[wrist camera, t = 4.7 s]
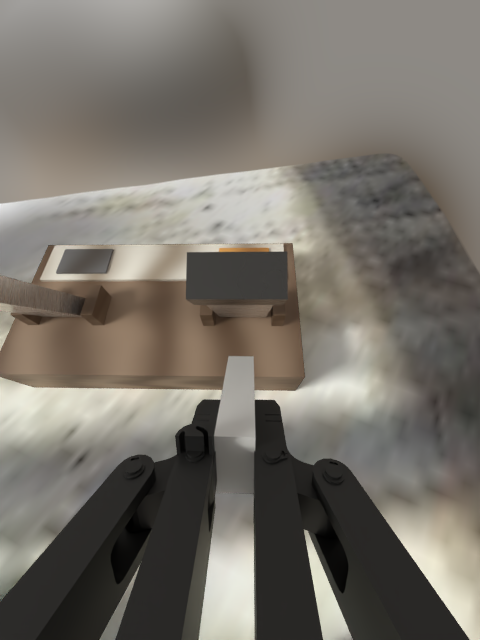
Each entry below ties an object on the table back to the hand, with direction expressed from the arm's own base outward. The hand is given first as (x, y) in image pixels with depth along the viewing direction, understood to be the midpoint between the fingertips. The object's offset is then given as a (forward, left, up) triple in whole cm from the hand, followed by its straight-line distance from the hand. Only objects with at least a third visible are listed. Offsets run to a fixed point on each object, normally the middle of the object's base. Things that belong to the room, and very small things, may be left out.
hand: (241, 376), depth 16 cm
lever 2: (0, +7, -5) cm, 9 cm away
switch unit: (-8, +8, -10) cm, 15 cm away
